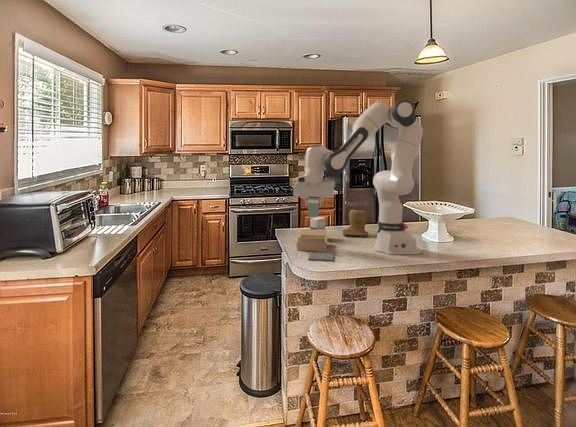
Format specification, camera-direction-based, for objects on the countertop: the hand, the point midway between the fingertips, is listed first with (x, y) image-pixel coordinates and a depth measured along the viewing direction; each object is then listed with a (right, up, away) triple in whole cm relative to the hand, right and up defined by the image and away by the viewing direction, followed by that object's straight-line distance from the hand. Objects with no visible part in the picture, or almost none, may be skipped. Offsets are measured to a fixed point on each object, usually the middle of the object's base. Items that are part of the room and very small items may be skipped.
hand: (313, 206), depth 193 cm
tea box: (0, -5, +1) cm, 5 cm away
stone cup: (+26, -16, +32) cm, 44 cm away
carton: (0, -21, +4) cm, 21 cm away
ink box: (+4, -18, +21) cm, 28 cm away
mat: (+3, -24, -14) cm, 28 cm away
